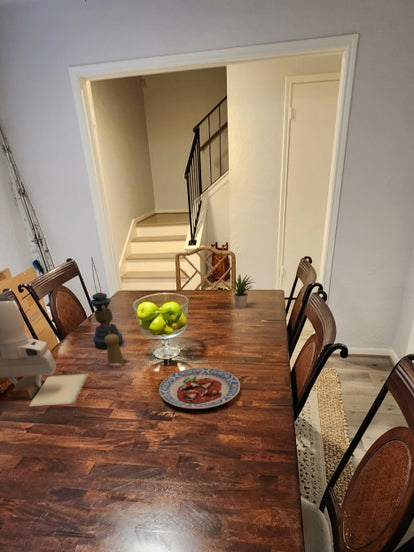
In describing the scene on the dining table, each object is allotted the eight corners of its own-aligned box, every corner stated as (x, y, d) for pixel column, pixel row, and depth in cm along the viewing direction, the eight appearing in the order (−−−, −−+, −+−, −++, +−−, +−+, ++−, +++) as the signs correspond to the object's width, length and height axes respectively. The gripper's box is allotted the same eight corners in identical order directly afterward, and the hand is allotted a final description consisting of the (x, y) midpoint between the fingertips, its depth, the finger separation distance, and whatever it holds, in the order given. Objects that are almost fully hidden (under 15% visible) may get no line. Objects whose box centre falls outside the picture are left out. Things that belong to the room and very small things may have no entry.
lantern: (127, 346, 153) (112, 257, 135) (98, 353, 149) (79, 262, 131) (118, 335, 164) (103, 252, 146) (91, 341, 160) (72, 256, 142)
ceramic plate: (249, 408, 110) (249, 399, 108) (162, 419, 107) (161, 410, 105) (230, 369, 131) (230, 362, 130) (157, 378, 128) (156, 370, 127)
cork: (116, 358, 144) (111, 331, 138) (127, 361, 141) (122, 334, 135) (104, 363, 140) (99, 336, 134) (115, 367, 137) (110, 339, 131)
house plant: (246, 313, 183) (246, 279, 174) (222, 309, 189) (221, 276, 181) (258, 305, 193) (260, 272, 184) (235, 301, 199) (235, 270, 191)
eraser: (15, 400, 117) (11, 390, 115) (29, 382, 128) (25, 373, 126) (31, 399, 117) (28, 389, 116) (43, 381, 128) (40, 372, 126)
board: (29, 409, 115) (28, 406, 114) (49, 378, 132) (48, 375, 131) (75, 406, 115) (74, 403, 114) (89, 376, 132) (88, 373, 131)
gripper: (-24, 354, 111) (-8, 393, 119) (45, 350, 112) (56, 389, 119) (-14, 345, 117) (1, 384, 124) (51, 342, 117) (62, 380, 125)
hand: (28, 386), depth 122 cm, fingers closed on eraser, 5 cm apart
